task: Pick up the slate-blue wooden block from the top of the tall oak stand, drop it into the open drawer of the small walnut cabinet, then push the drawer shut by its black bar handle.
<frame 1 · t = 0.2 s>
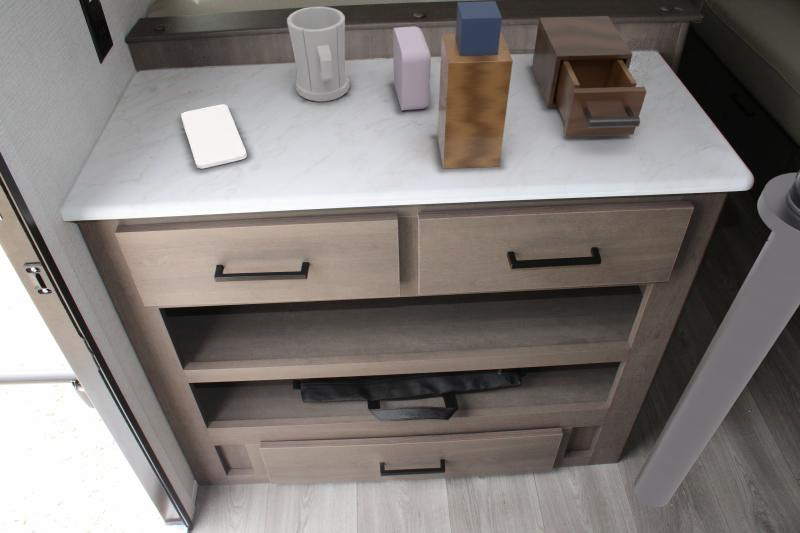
smartphone: (213, 138, 95), on the dresser top
cabinet: (573, 86, 105), on the dresser top
block: (476, 46, 81), point 16 cm above the dresser top, touching stand
electronic device: (412, 97, 103), on the dresser top
stand: (467, 151, 92), on the dresser top
drawer: (597, 99, 94), point 4 cm above the dresser top, slide at 8.0 cm
cup: (326, 92, 105), on the dresser top
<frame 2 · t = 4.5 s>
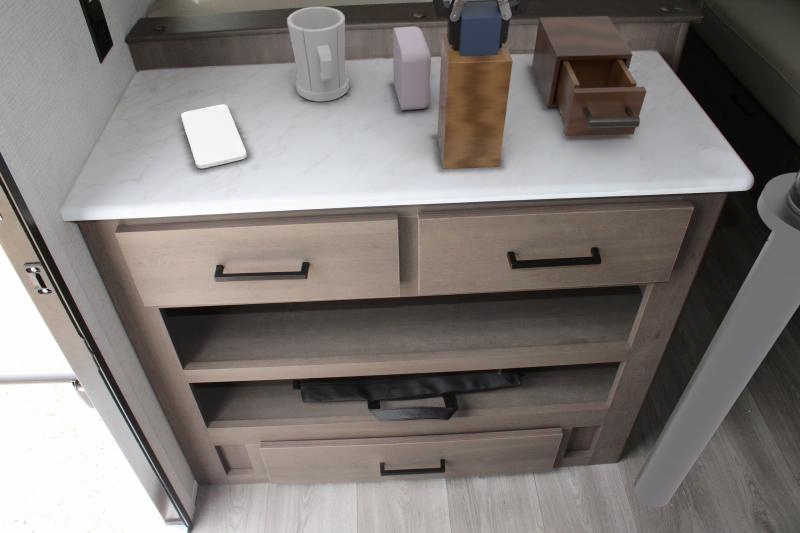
hand: (476, 45, 81), 16 cm above the dresser top, tool pointing down, fingers closed on block, 4 cm apart
block: (476, 46, 81), point 16 cm above the dresser top, touching gripper, stand
everything else where it was.
when the fingers open (8 cm above the dresser top, at t = 11.8 s): block stays where it is, resting on drawer.
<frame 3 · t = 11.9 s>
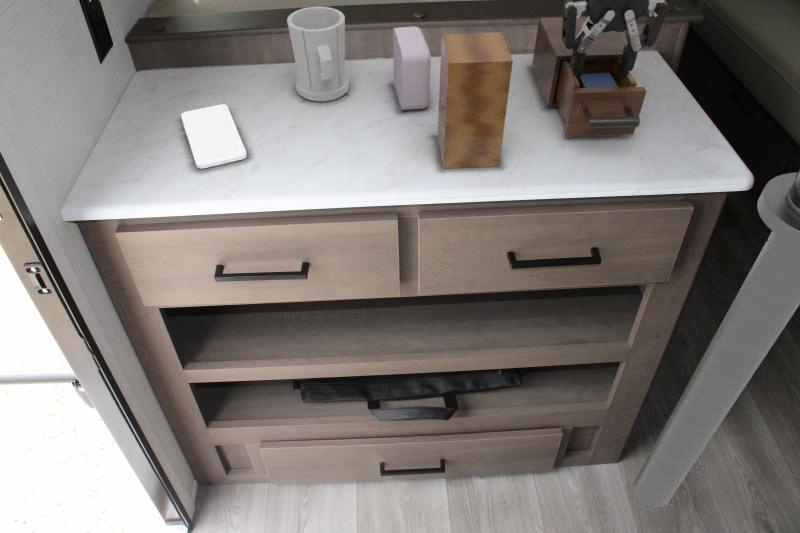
hand: (600, 73, 92), 8 cm above the dresser top, tool pointing down, fingers open, 6 cm apart
block: (591, 110, 96), point 2 cm above the dresser top, touching drawer
drawer: (597, 99, 94), point 4 cm above the dresser top, slide at 8.0 cm, touching block
everything else where it was.
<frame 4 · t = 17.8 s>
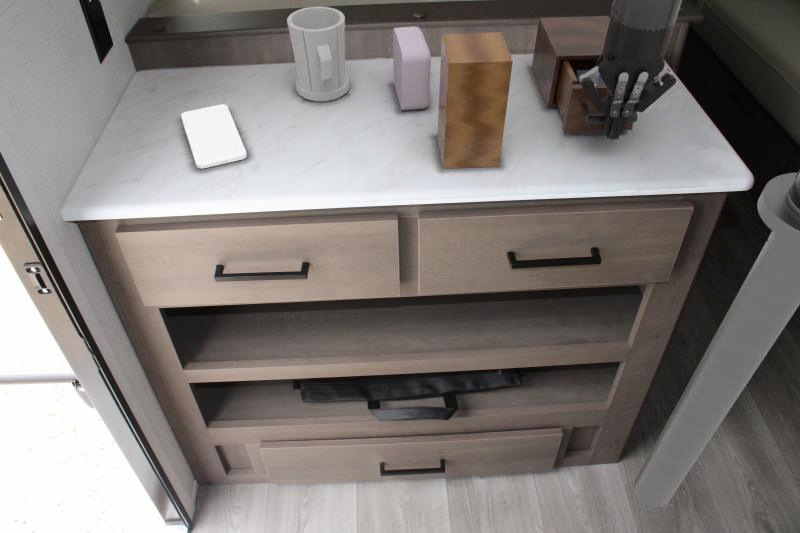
hand: (610, 136, 88), 4 cm above the dresser top, tool pointing down, fingers closed
block: (589, 106, 97), point 2 cm above the dresser top, touching drawer
drawer: (595, 95, 94), point 4 cm above the dresser top, slide at 6.9 cm, touching block, gripper
everything else where it was.
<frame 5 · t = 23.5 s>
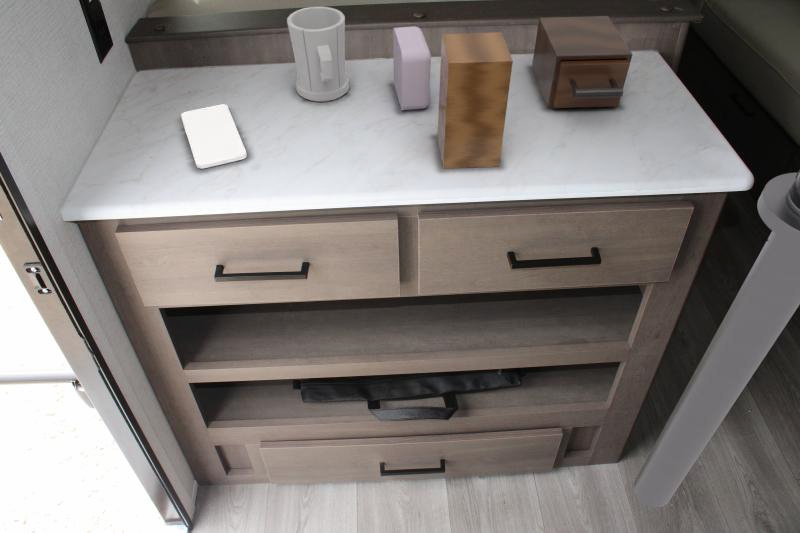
block: (578, 83, 102), point 2 cm above the dresser top, touching drawer
drawer: (584, 73, 99), point 4 cm above the dresser top, slide at 0.0 cm, touching block
everything else where it was.
at the end: block inside the target area in the cabinet (2.4 cm from its centre), point 1.9 cm above the cabinet's base; drawer slide at 0.0 cm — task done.
